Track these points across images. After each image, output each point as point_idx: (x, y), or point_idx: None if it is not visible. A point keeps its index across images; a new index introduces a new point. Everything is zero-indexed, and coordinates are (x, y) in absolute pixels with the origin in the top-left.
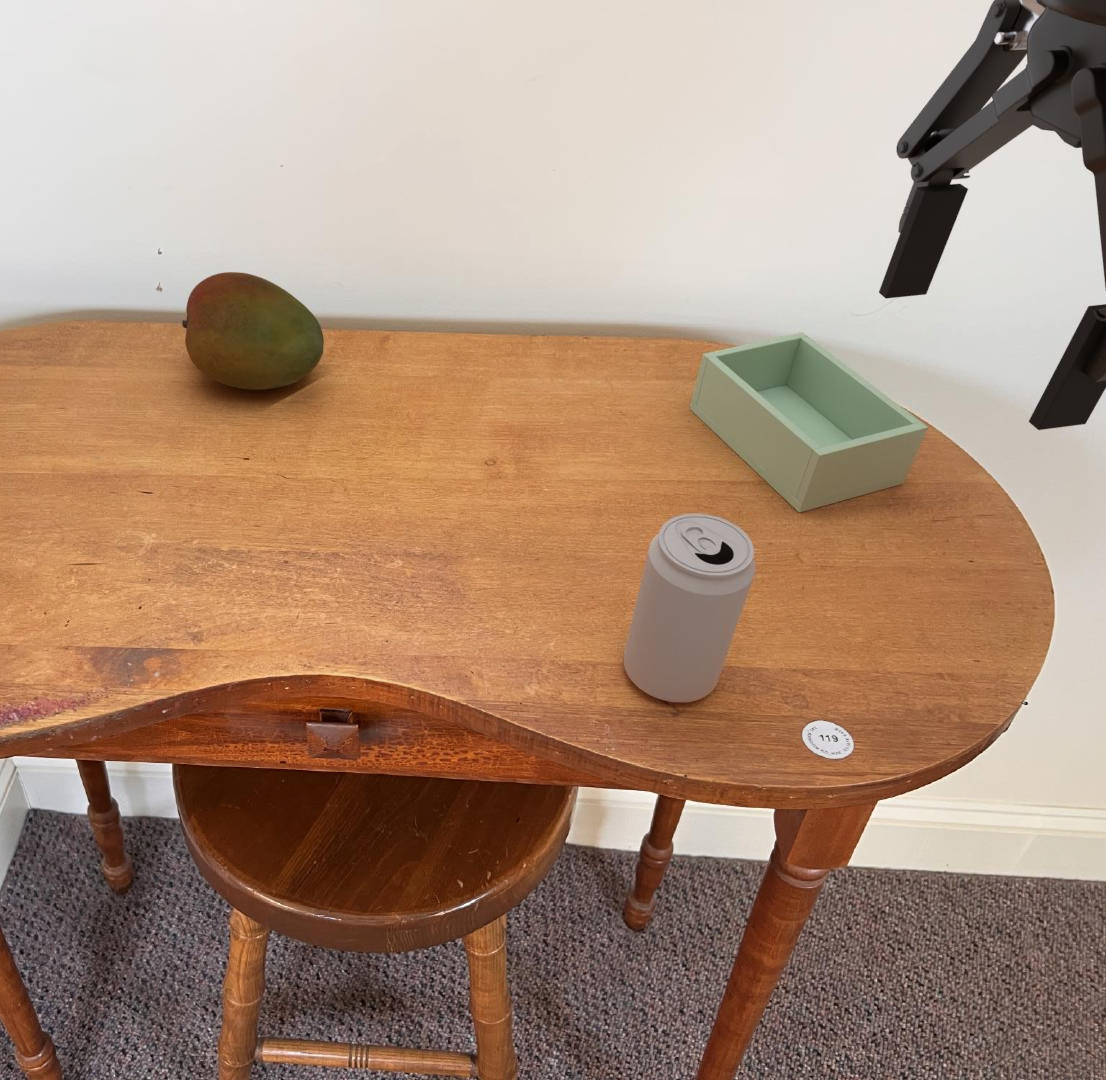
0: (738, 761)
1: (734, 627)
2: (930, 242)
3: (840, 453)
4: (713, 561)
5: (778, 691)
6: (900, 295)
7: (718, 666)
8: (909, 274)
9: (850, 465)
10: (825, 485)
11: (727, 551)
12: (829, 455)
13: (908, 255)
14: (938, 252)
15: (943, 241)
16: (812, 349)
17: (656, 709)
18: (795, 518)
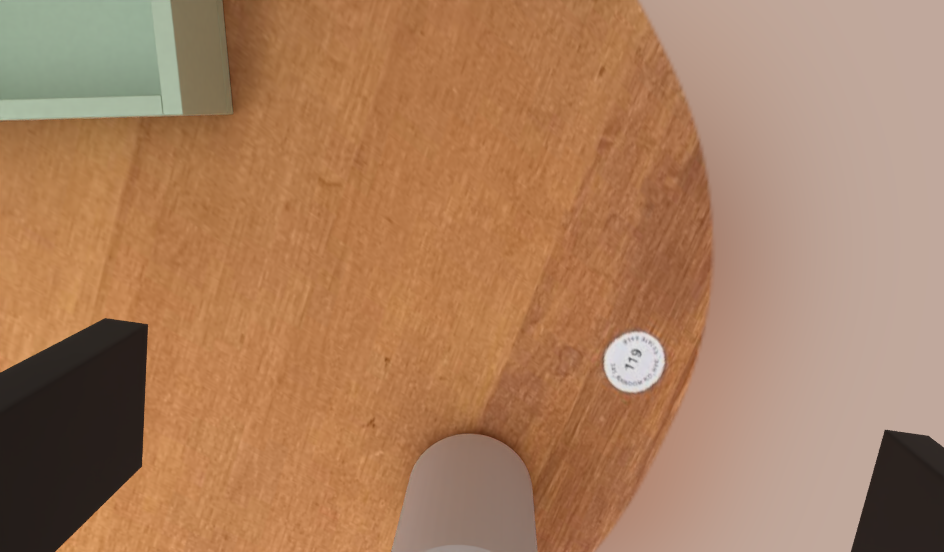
0: (620, 479)
1: (529, 529)
2: (25, 478)
3: (181, 61)
4: (420, 519)
5: (546, 372)
6: (141, 422)
7: (531, 500)
8: (101, 453)
9: (193, 24)
10: (211, 73)
11: (432, 530)
12: (183, 90)
13: (54, 525)
14: (56, 401)
15: (24, 414)
16: None
17: None
18: (243, 128)
